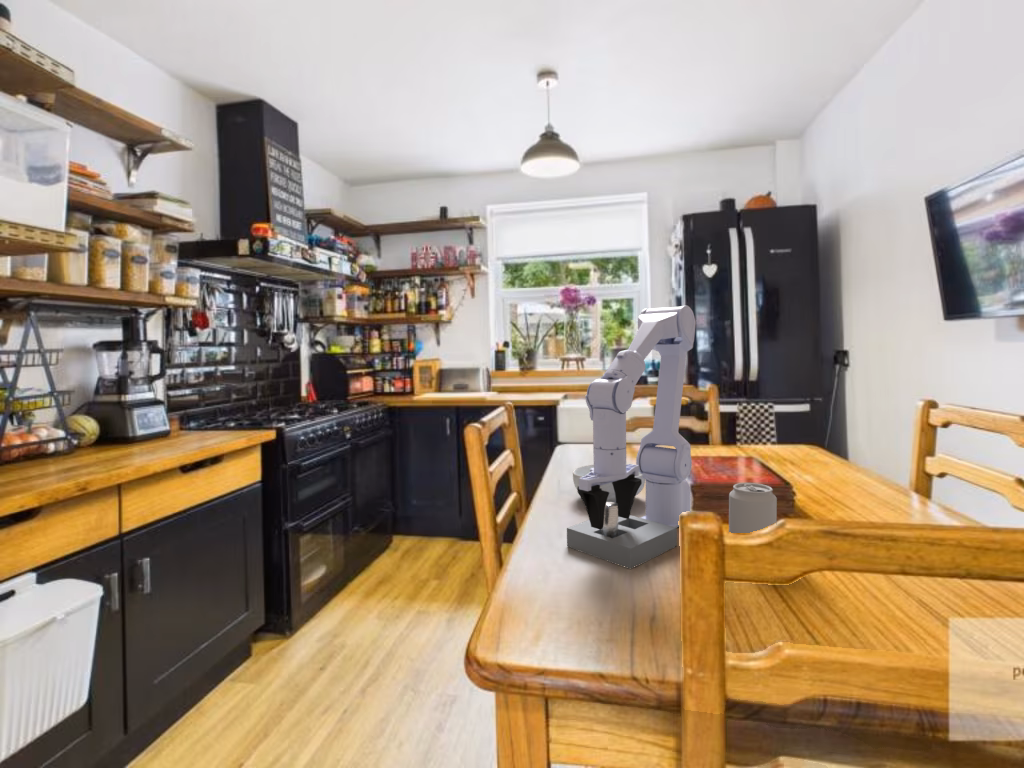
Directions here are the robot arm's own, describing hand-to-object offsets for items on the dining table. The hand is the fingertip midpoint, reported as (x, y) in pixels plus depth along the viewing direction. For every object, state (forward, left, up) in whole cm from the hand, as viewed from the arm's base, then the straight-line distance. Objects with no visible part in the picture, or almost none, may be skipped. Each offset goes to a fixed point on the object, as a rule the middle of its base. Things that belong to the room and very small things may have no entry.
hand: (610, 522), depth 95 cm
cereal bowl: (-25, -20, -6) cm, 33 cm away
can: (-16, +18, -6) cm, 25 cm away
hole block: (-3, 0, -5) cm, 6 cm away
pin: (0, 0, -5) cm, 5 cm away
